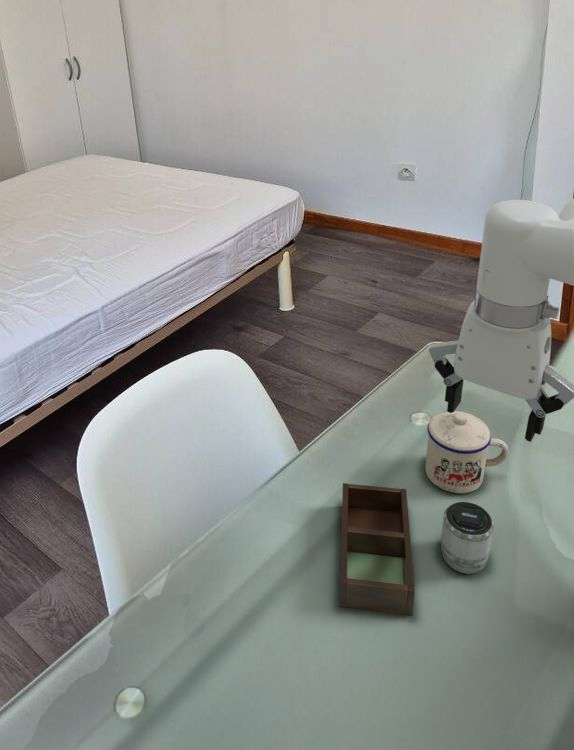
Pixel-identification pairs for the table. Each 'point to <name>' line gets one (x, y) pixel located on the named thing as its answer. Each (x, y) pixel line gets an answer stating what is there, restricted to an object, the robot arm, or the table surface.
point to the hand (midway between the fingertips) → (491, 420)
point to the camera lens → (466, 537)
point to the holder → (376, 550)
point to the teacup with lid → (459, 451)
